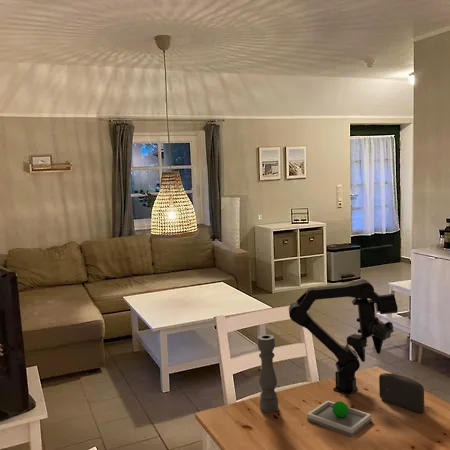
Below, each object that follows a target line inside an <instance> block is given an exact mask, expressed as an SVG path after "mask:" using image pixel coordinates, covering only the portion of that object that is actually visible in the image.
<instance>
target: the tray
mask: <svg viewBox="0 0 450 450" xmlns="http://www.w3.org/2000/svg"><path fill="white" fill-rule="evenodd" d="M335 403H336V402H334V401H331V400H325V401H324V402H322V404H320V405H318V406H317V407H315V408H314V409H312V410H311V411H309V412H307V414H306V416H307V418H306V419H307V421H309V422H312V423H314V424H317V425H319V426H322V427H325V428H327V429H330V430H333V431H336V432H338V433H341V434H344V435H346V436H350V437H354V436H355V435H356V434H357V433H359V432H360V431H361V430H362V429H363V428H365V427H366V426H367V425H368V424H369V423H371V422H372V414H371V413H368V412H364V411H362V410H359V409H356V408H353V407H350V406H348V413H347V416H345V417H343V418H339V417H337V416H336V415H334V413H333V405H334V404H335Z"/></svg>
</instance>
